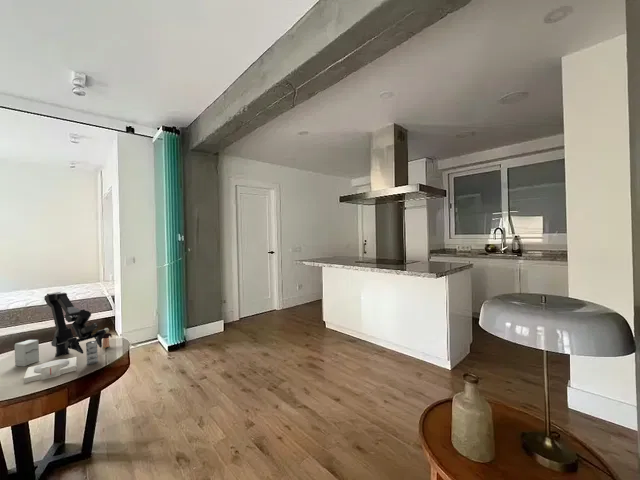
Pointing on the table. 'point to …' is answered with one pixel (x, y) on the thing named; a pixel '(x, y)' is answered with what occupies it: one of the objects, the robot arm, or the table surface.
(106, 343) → the grandmother figurine
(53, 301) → the robot arm
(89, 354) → the steel spacer stack
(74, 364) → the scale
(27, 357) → the supplement box
